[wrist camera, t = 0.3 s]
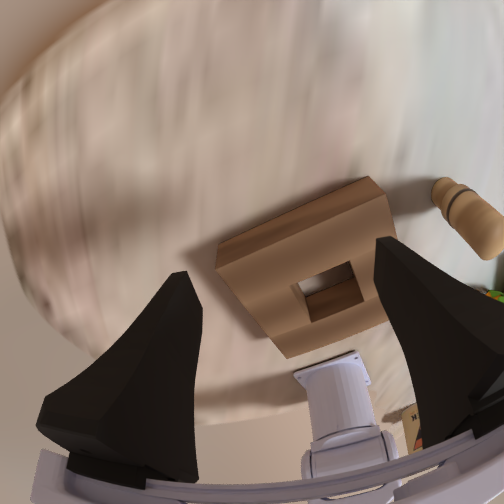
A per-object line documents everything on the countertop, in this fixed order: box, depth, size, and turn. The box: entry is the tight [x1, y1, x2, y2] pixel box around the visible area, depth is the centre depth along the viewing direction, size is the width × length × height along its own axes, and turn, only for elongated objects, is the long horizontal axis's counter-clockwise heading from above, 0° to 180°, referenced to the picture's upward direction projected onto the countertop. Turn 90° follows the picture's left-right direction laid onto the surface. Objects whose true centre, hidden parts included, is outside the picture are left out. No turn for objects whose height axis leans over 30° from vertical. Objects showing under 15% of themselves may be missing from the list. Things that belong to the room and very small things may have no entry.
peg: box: [431, 177, 504, 260], centre depth 17 cm, size 3×3×7 cm
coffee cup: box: [401, 403, 423, 455], centre depth 40 cm, size 9×9×12 cm
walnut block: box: [215, 176, 398, 359], centre depth 22 cm, size 12×12×3 cm
